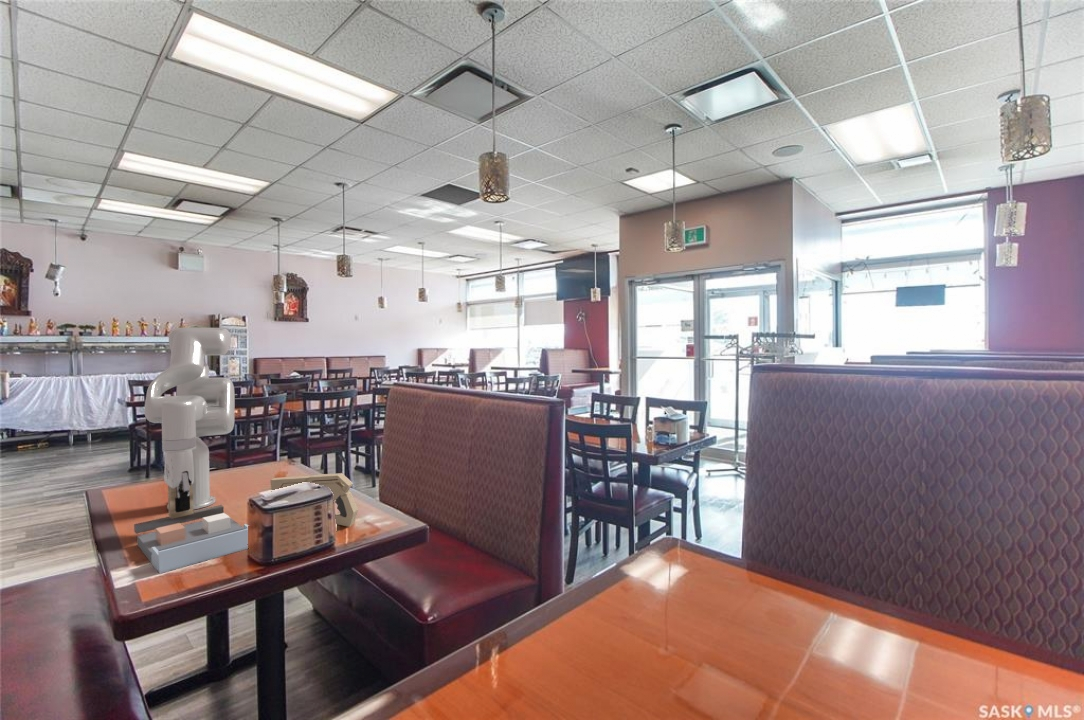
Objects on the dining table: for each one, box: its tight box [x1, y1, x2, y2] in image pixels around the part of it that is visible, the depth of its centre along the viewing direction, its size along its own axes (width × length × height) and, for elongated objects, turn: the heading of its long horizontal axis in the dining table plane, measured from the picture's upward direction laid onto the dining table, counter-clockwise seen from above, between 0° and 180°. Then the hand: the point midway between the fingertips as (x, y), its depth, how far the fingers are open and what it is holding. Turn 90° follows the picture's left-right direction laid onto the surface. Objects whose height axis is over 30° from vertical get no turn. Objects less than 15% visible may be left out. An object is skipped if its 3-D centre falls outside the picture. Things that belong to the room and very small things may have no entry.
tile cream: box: [202, 512, 231, 534], centre depth 130 cm, size 5×5×3 cm
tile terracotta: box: [155, 523, 185, 545], centre depth 122 cm, size 5×5×3 cm
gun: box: [269, 472, 359, 528], centre depth 141 cm, size 24×3×15 cm, turn 84°
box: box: [150, 523, 249, 574], centre depth 120 cm, size 8×20×5 cm, turn 139°
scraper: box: [133, 484, 225, 535], centre depth 135 cm, size 3×20×11 cm, turn 139°
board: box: [136, 517, 244, 563], centre depth 128 cm, size 15×20×2 cm
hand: (180, 508), depth 135 cm, fingers closed on scraper, 3 cm apart
